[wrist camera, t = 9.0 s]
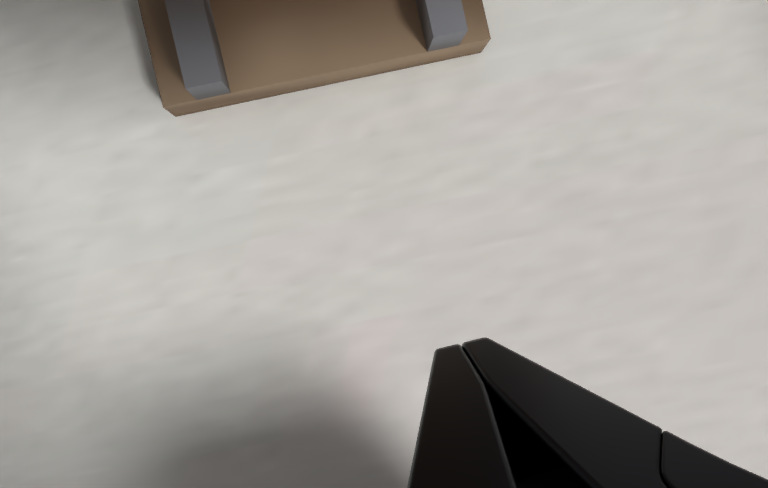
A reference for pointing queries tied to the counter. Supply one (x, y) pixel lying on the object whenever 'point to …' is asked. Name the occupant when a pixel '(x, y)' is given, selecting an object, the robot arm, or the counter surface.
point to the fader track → (296, 44)
